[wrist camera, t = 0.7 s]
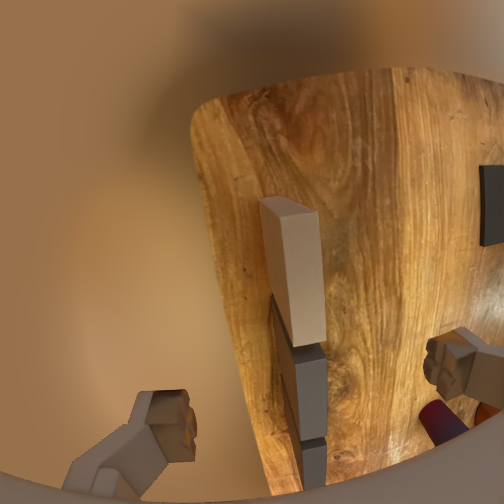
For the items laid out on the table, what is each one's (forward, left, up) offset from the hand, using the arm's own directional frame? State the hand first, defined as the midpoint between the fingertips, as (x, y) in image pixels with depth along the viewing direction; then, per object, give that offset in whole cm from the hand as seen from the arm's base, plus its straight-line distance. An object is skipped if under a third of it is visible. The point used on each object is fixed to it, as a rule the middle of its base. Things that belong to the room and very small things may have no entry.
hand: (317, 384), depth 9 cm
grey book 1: (+8, +9, -24) cm, 26 cm away
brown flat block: (-1, +2, -24) cm, 24 cm away
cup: (+11, +42, -24) cm, 50 cm away
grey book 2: (+16, +15, -24) cm, 32 cm away
